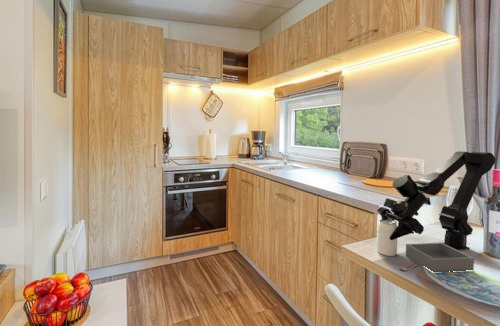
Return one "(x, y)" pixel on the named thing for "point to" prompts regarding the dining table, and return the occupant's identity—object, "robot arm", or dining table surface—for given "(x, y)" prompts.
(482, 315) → the dining table surface
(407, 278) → the dining table surface
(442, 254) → the tote
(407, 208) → the robot arm
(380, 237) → the can
